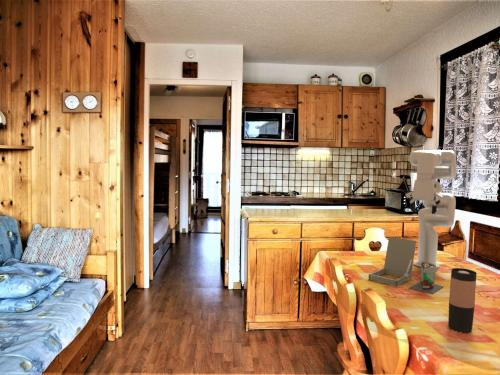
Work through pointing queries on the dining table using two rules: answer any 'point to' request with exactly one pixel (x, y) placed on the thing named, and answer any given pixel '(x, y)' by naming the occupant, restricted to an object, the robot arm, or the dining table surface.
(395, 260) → the case
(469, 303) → the travel mug
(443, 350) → the dining table surface
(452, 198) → the robot arm
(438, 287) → the mat
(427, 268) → the food container
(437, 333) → the dining table surface
